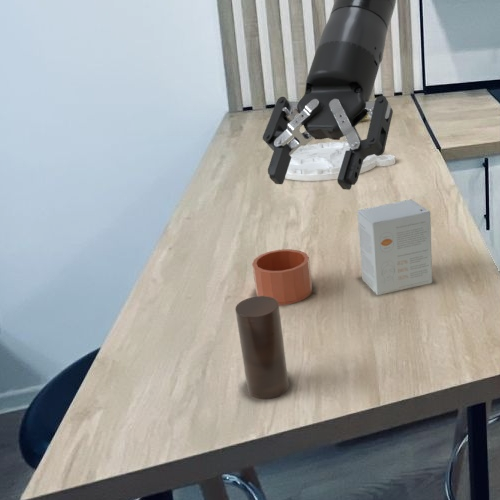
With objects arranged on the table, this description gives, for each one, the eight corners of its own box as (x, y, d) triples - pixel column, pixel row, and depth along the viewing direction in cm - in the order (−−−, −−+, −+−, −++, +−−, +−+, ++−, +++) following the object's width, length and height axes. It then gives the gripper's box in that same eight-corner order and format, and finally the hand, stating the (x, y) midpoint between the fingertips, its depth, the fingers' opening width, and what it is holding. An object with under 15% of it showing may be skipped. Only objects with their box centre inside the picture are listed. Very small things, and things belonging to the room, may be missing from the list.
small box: (414, 269, 92) (412, 198, 88) (433, 284, 87) (431, 210, 83) (361, 280, 91) (356, 209, 87) (376, 297, 86) (372, 222, 82)
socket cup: (321, 285, 91) (318, 252, 89) (294, 310, 85) (290, 276, 84) (275, 278, 95) (271, 246, 93) (246, 301, 90) (241, 268, 88)
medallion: (291, 152, 160) (290, 143, 160) (403, 149, 150) (403, 139, 149) (258, 182, 141) (257, 171, 140) (385, 180, 130) (384, 169, 130)
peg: (296, 382, 70) (286, 299, 67) (275, 405, 67) (263, 319, 63) (262, 373, 73) (250, 293, 69) (239, 395, 70) (226, 312, 66)
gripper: (280, 42, 77) (238, 164, 73) (396, 34, 69) (355, 171, 65) (307, 79, 83) (269, 194, 79) (415, 76, 75) (380, 203, 71)
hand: (308, 183), depth 72 cm, fingers open, 8 cm apart
